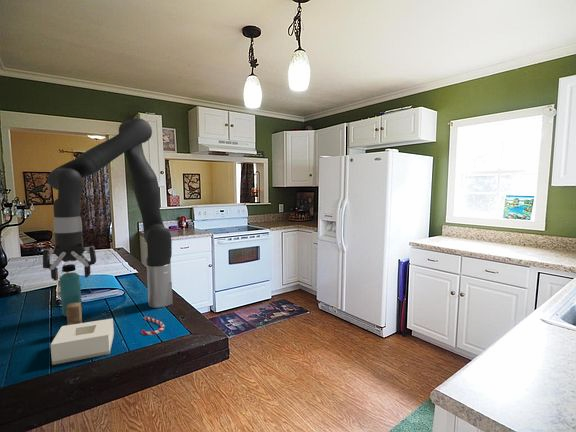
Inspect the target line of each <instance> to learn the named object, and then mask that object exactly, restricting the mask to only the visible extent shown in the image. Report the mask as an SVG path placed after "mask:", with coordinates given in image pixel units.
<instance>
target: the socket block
mask: <svg viewBox="0 0 576 432" xmlns="http://www.w3.org/2000/svg"><path fill="white" fill-rule="evenodd" d="M114 336H115V330H114V319H113V318H108V319H107V318H106V319H99V320H94V321H88V322H87V321H86V322H82V323H79V324H73V325H61V327H60V329H59V330H58V332H57V333H56V335H55V337H53V340H52V342H51V343H50V354H51V356H50V357H51V365H52V366H53V365H59V364H65V363H69V362H75V361H80V360H86V359H90V358H97V357H100V356H101V357H102V356H105V355H106V356H107V355H110V354H111V349H112V345H113V342H114Z"/></svg>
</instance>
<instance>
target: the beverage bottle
mask: <svg viewBox="0 0 576 432" xmlns="http://www.w3.org/2000/svg"><path fill="white" fill-rule="evenodd" d="M75 271H76V265H75V264H73V263H72V264H71V263H70V264H65V265H62V269H61V272H62V273H63V274H62V275H60V277H58V280H59V288H60V303H61V304H60V305H61V313H62V316H63V317H67V313H66V307H67V305H68V304H71V303H78V302H81V310H82V311H83V303H82V293H81V292H82V291H81V286H82V285H81V282H80V281H81V280H80V277H81V276H80V274H79V273H76V272H75Z"/></svg>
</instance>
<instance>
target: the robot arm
mask: <svg viewBox="0 0 576 432" xmlns="http://www.w3.org/2000/svg"><path fill="white" fill-rule="evenodd" d="M152 134H153V129H152V126H151V124H150V123H149V122H148V121H146V120H145V119H143V118H131V119H129V120H125V121H123V122H121V123H120V124H119V127H118V133H117V134H116V135H114V136H113V137H111V138H108V139H107V140H105V141H103V142H101V143H99V144H97V145H94V146H93V147H91V148H90V149H88V150H86V151H85V152H83V153H82V154H80V155H78V156H77V157H75V158H74V159H72V160H70V161H68V162H66V163H64V164H61V165H59V166H58V167H56V168H54V169H53V170H51V172H49V174H48V176H47V183H48V185H49V186H50V187H51V188H52V189H53V190H56V191H58V192H57V198H56V199H55V200H54V201H53V233H54V234H53V235H54V249H53V248H44V249H43V251H42V268H43V269H49V270H50V278H51V279H52V280H53V281H58V280H59V271H58V266H59V264H60V263H61V262H62V261H63V262H69V261H71V262H76V261H78V262H79V263H81V264H83V266H84V267H83V269H84V270H83V271H84V278H86V279H87V278H89V276H91V272H92V271H91V266H92V265H95V264H96V262H97V256H96V249H95V248H96V247H95V245H91V246H84V237H83V222H82V221H83V220H82V218H81V205H80V202H81V198H82V193H83V187H84V184H83V179H84V178H86V177H89V176H90V177H91V176H92V175H94V174H96V173H98V172H99V171H100V170H102V169H104V167H106V166H107V165H109V164H110V163H112V162H113V161H114V160H116V159H117V158H119V156H122V154H124V155H125V157H126V162H127V166H128V169H129V173H130V177H131V183H132V188H133V192H134V196H135V200H136V202H137V206H138V208H139V212H140V215H141V219H142V220H141V221H142V228H143V237H144V241H145V242H146V247H147V248H146V249H147V250H146V251H147V256H146V279H147V301H148V307H150V308H155V309H159V308H164V307H167V306H171V305H174V304H173V285H172V284H173V283H172V263H171V261H172V260H171V259H172V255H173V254H172V253H173V252H172V248H173V247H172V244H173V243H172V235H171V232H170V230H169V229H168V228H167V227H165V225H164V222H163V218H162V214H161V192H160V191H161V190H160V186H159V181H158V177H157V174H156V173H155V171H154V169H153V168H152V167H151V165H150V163H149V162H148V161H147V158H146V156H145V153H144V149H143V144H145V143H146V142H148V141H149V140H150V139H151V138H152ZM85 251H86V252H87V254H89V258H90V260H89V259H87V257H86V256H85V255H84V252H85ZM53 254H54V255H55V256H56V257H57V258H56V259H55V260H54V262H53V263H51V256H52V255H53Z"/></svg>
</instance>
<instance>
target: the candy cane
mask: <svg viewBox="0 0 576 432" xmlns="http://www.w3.org/2000/svg"><path fill="white" fill-rule="evenodd" d="M143 320H145V321H149V322H151V323H154V324H156V325H158V326H159V327H160V328H158V329H156V330H151V331H146V330H145V329H142V330H141V334H142V335H143V336H154V335H157V334H159V333H161V332H163V331H164V330H165V324H164V323H163V322H162V321H160V320H158V319H155V318H152V317H149V316H144V317H143Z"/></svg>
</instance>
